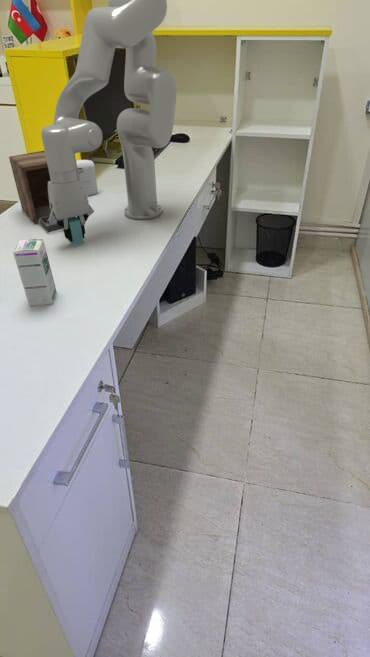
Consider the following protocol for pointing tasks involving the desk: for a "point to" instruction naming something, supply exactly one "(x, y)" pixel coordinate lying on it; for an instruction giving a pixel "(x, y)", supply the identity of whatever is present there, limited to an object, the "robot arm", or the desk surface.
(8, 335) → the desk surface
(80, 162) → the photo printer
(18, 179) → the walnut cubby
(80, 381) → the desk surface
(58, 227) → the teal and black gadget
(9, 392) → the desk surface
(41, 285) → the syrup box
